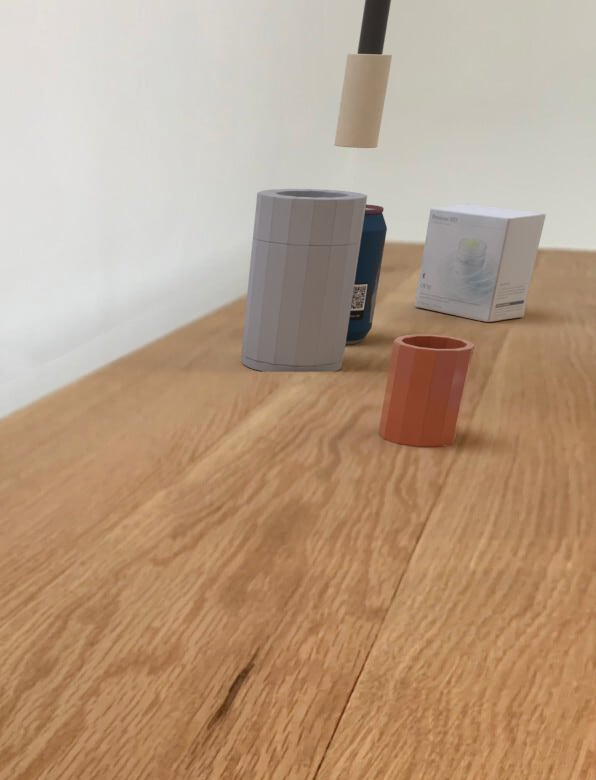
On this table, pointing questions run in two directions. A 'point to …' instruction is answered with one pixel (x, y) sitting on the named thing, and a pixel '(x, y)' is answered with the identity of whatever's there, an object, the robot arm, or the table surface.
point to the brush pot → (425, 390)
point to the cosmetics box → (478, 261)
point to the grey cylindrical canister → (301, 279)
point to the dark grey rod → (365, 82)
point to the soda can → (367, 274)
